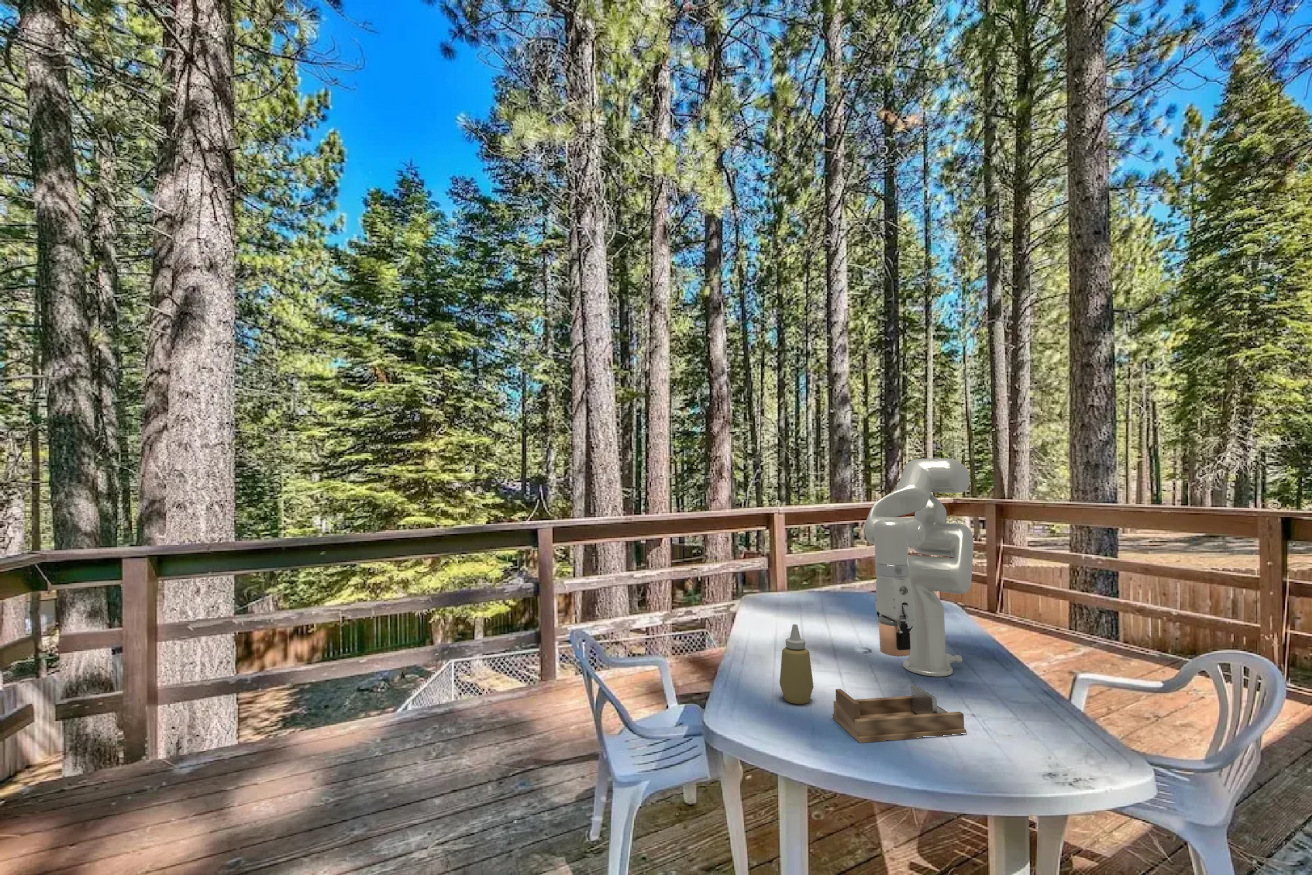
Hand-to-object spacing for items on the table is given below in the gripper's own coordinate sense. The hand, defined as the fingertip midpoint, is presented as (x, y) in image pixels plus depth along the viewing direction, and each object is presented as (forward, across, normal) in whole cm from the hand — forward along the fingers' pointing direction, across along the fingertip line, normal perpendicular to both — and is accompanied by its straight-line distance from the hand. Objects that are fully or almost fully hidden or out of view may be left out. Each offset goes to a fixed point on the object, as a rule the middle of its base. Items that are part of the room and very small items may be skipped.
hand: (894, 644), depth 135 cm
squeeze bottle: (+14, +4, +24) cm, 28 cm away
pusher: (+12, -12, 0) cm, 17 cm away
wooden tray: (+13, -13, +6) cm, 19 cm away
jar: (+2, 0, 0) cm, 2 cm away
